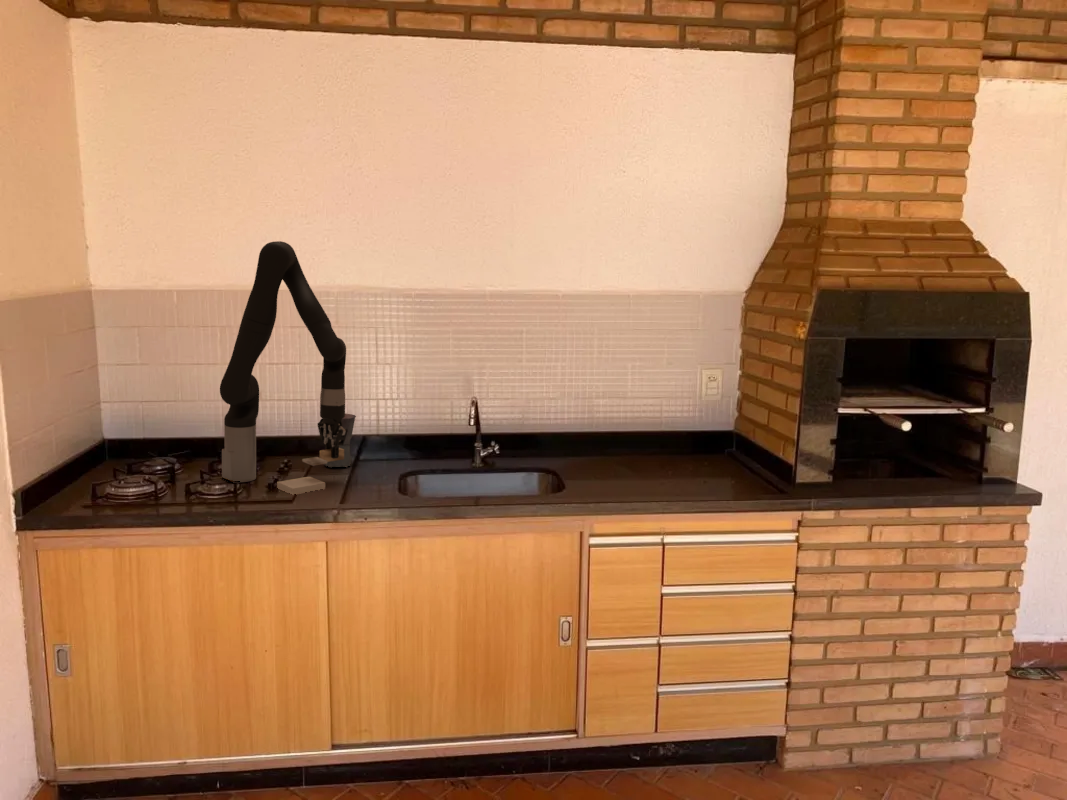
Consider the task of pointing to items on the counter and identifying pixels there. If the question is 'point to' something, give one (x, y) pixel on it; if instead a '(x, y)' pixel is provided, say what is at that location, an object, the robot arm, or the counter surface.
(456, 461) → the counter surface
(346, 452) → the moka pot
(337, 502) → the counter surface
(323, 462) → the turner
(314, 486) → the tile
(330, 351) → the robot arm
